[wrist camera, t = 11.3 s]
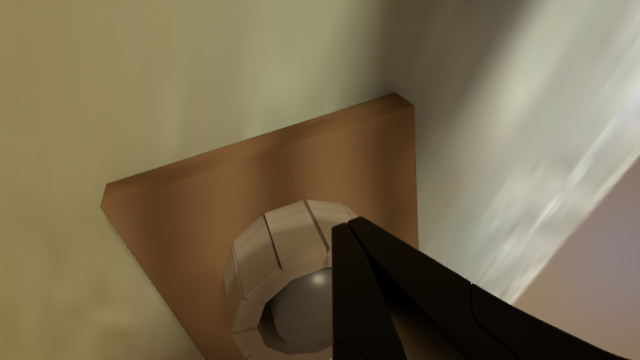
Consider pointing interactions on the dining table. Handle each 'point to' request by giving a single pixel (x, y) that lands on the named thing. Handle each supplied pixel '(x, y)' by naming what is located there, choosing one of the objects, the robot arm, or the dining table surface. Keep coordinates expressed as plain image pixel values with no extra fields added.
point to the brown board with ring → (265, 220)
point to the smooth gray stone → (305, 308)
